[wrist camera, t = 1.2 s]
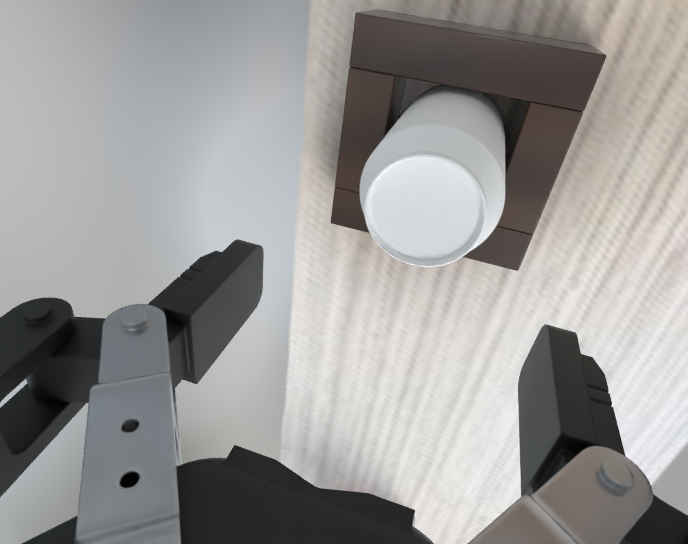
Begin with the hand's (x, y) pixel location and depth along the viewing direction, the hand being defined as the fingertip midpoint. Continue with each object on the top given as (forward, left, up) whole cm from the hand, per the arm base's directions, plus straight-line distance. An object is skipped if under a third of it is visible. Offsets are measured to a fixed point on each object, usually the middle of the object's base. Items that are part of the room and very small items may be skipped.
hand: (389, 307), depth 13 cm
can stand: (0, 0, -18) cm, 18 cm away
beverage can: (0, 0, -19) cm, 19 cm away
